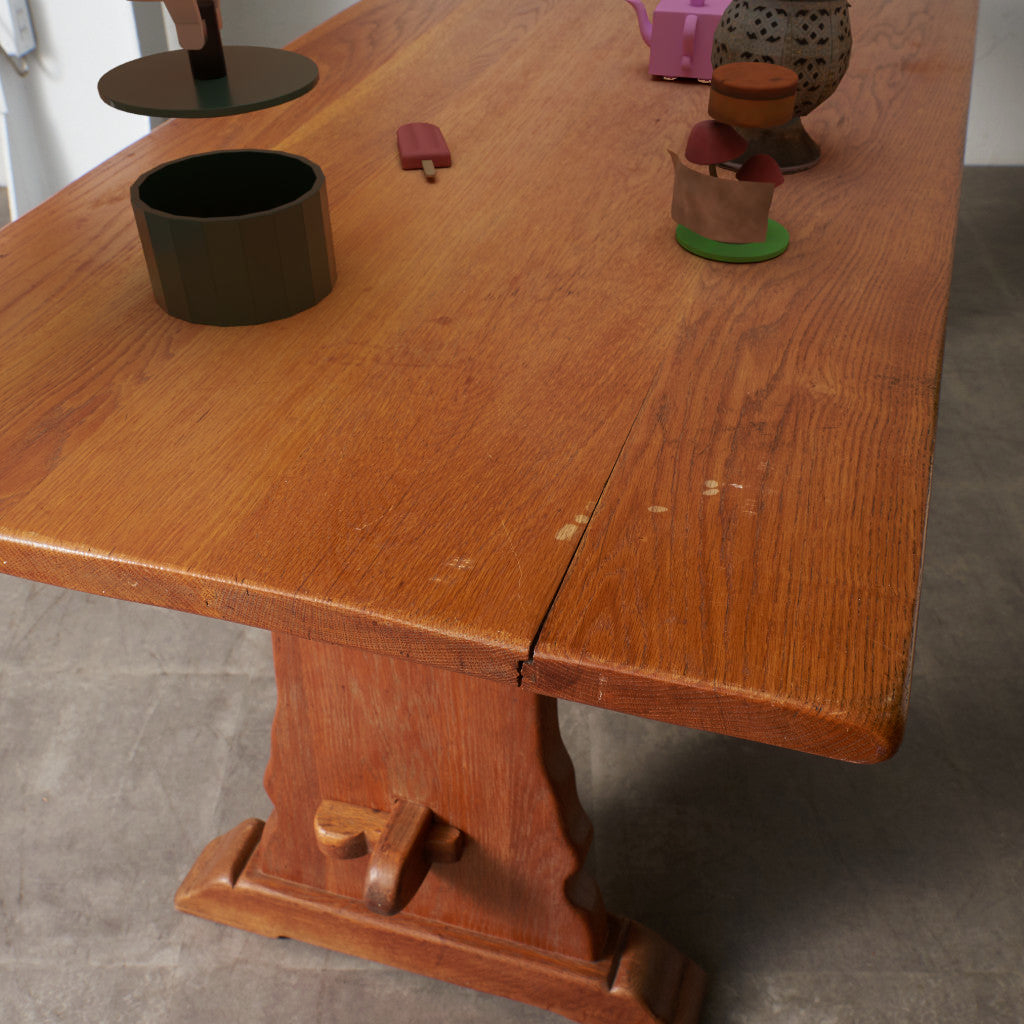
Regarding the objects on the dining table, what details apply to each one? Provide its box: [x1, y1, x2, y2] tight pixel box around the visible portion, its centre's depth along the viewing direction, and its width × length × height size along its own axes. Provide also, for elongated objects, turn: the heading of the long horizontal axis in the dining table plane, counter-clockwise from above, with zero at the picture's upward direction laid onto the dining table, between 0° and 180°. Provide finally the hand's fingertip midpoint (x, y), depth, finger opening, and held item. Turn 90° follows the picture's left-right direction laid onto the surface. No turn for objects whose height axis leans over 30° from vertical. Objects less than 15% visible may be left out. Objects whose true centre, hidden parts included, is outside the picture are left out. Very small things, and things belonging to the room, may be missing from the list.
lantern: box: [711, 0, 854, 175], centre depth 106 cm, size 14×14×25 cm
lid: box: [96, 0, 320, 120], centre depth 75 cm, size 16×16×6 cm
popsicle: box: [396, 121, 452, 178], centre depth 112 cm, size 5×2×15 cm
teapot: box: [624, 0, 732, 81], centre depth 134 cm, size 18×14×10 cm
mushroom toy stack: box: [666, 62, 799, 263], centre depth 91 cm, size 12×13×15 cm
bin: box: [129, 148, 338, 328], centre depth 85 cm, size 15×16×10 cm
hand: (202, 40), depth 75 cm, fingers closed on lid, 2 cm apart
